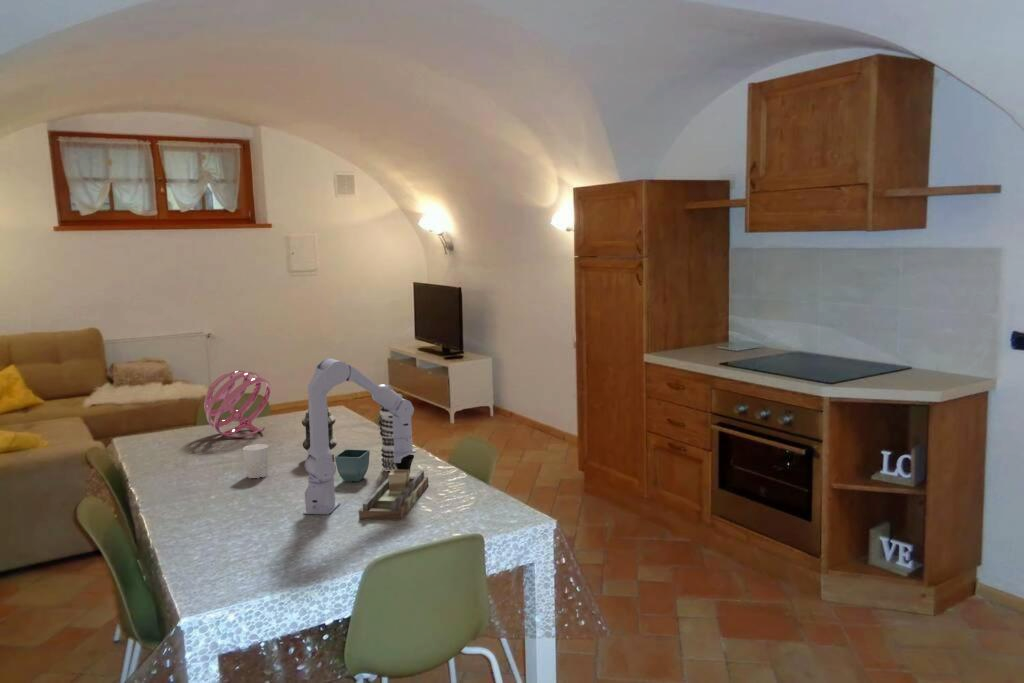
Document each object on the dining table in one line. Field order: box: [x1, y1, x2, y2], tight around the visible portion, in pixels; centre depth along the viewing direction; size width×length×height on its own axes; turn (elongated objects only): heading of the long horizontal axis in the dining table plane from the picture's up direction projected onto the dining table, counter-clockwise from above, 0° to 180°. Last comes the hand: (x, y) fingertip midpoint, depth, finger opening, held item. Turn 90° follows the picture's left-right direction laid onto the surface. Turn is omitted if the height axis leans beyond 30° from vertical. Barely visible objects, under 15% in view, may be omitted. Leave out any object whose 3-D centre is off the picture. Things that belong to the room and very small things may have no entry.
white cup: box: [242, 443, 269, 479], centre depth 261 cm, size 8×8×10 cm
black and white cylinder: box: [378, 404, 398, 473], centre depth 263 cm, size 9×9×25 cm
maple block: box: [388, 469, 411, 491], centre depth 235 cm, size 5×5×5 cm
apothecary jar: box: [301, 407, 338, 460], centre depth 279 cm, size 12×12×18 cm
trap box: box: [358, 470, 429, 521], centre depth 231 cm, size 32×12×4 cm, turn 172°
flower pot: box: [334, 448, 371, 483], centre depth 253 cm, size 9×9×9 cm
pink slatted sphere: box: [203, 369, 272, 439], centre depth 318 cm, size 28×28×27 cm
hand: (404, 479), depth 241 cm, fingers closed
